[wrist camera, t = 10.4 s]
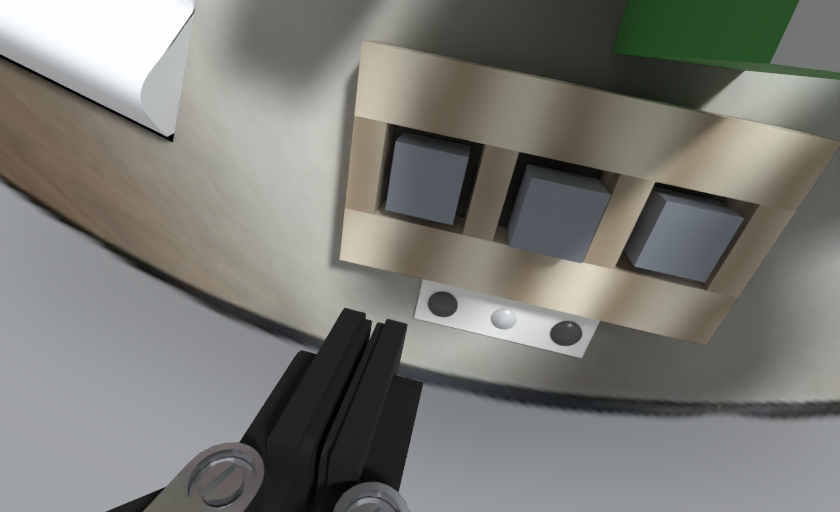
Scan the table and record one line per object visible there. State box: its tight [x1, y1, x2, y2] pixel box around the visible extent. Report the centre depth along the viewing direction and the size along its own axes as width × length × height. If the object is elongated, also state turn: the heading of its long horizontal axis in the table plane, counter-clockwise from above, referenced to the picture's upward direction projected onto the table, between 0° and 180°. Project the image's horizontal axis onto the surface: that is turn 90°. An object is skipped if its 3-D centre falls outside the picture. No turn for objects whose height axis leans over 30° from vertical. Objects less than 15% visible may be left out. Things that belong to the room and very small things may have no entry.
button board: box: [340, 41, 840, 345], centre depth 27 cm, size 26×14×3 cm, turn 80°
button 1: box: [385, 132, 471, 225], centre depth 26 cm, size 4×4×3 cm
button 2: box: [623, 186, 744, 282], centre depth 26 cm, size 4×4×3 cm
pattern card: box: [414, 279, 600, 358], centre depth 33 cm, size 14×4×1 cm, turn 80°
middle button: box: [507, 164, 611, 264], centre depth 25 cm, size 4×4×3 cm
